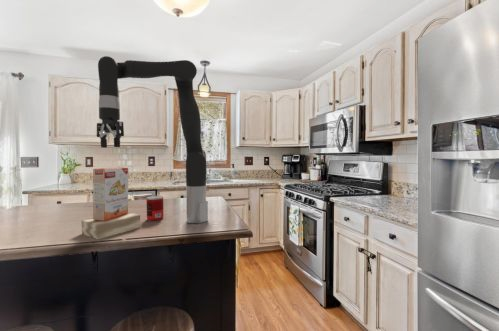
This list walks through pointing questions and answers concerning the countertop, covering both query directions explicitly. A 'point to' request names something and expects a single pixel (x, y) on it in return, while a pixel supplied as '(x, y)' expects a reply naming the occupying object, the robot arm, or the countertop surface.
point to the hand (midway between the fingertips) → (110, 147)
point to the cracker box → (110, 193)
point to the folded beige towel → (110, 226)
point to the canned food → (154, 208)
